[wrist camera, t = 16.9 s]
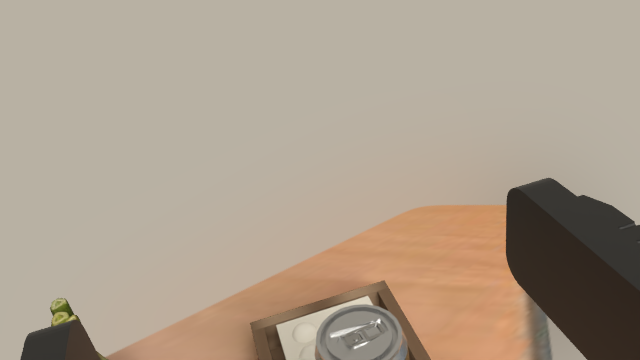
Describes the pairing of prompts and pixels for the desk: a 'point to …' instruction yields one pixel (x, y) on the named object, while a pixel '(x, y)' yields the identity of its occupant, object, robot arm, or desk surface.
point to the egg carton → (307, 332)
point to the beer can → (361, 335)
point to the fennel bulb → (64, 315)
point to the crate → (377, 293)
